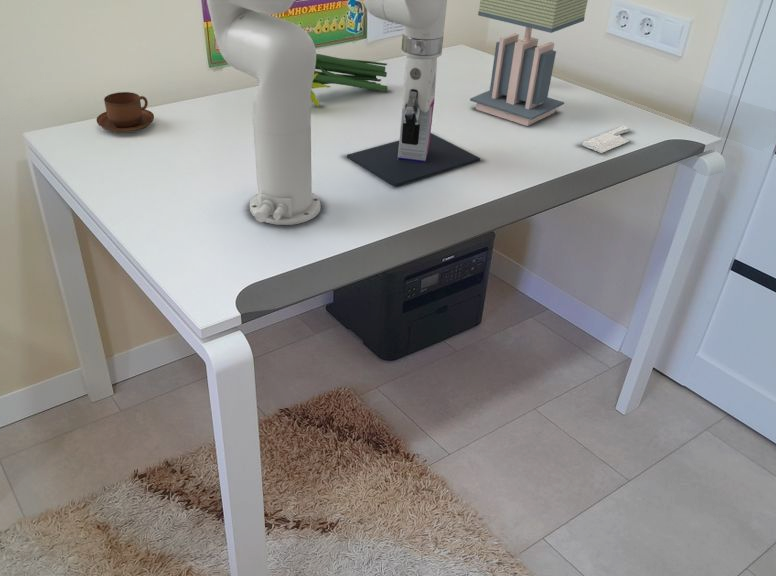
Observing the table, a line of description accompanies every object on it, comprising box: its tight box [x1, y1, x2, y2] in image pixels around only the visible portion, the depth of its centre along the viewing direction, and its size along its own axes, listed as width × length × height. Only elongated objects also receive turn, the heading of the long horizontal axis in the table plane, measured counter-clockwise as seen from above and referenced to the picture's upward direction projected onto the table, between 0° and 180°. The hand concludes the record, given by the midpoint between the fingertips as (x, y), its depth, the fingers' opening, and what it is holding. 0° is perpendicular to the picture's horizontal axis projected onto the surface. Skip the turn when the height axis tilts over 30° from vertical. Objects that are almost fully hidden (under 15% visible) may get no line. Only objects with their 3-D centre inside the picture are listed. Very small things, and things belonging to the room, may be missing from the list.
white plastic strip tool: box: [581, 125, 630, 154], centre depth 157 cm, size 5×15×1 cm, turn 130°
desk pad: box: [346, 132, 481, 188], centre depth 147 cm, size 22×16×1 cm
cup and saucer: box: [96, 91, 155, 133], centre depth 155 cm, size 12×12×6 cm
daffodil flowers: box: [282, 16, 388, 107], centre depth 169 cm, size 17×15×35 cm
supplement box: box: [397, 96, 436, 163], centre depth 143 cm, size 6×6×12 cm
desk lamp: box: [469, 0, 589, 127], centre depth 160 cm, size 18×14×33 cm
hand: (414, 134), depth 144 cm, fingers open, 9 cm apart
